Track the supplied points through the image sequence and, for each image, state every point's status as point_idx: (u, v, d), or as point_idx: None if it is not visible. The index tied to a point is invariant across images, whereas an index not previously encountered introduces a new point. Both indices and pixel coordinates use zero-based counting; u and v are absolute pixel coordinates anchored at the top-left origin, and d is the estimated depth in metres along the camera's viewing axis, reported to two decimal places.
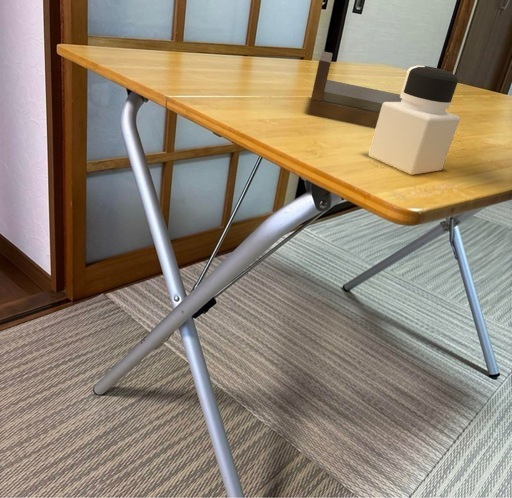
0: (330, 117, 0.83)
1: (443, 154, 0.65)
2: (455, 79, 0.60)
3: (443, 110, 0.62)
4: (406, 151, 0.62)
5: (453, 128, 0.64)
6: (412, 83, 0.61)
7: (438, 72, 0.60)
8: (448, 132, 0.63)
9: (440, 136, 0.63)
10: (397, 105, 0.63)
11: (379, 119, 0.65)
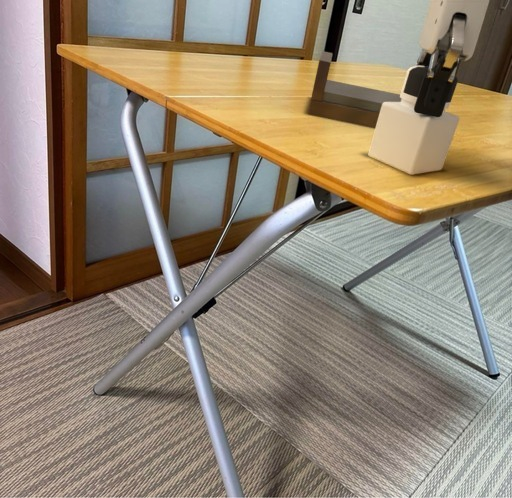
0: (330, 117, 0.83)
1: (443, 154, 0.65)
2: (455, 79, 0.60)
3: (443, 110, 0.62)
4: (406, 151, 0.62)
5: (453, 128, 0.64)
6: (412, 83, 0.61)
7: None
8: (448, 132, 0.63)
9: (439, 136, 0.63)
10: (396, 104, 0.63)
11: (379, 119, 0.65)
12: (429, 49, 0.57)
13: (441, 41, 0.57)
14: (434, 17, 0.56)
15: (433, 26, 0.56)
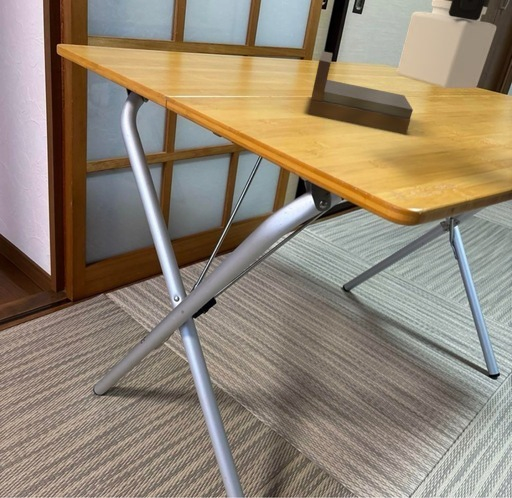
0: (330, 117, 0.83)
1: (478, 68, 0.60)
2: None
3: None
4: (440, 62, 0.58)
5: (489, 38, 0.59)
6: None
7: None
8: (484, 42, 0.59)
9: (476, 46, 0.58)
10: (428, 13, 0.58)
11: (409, 31, 0.60)
12: None
13: None
14: None
15: None
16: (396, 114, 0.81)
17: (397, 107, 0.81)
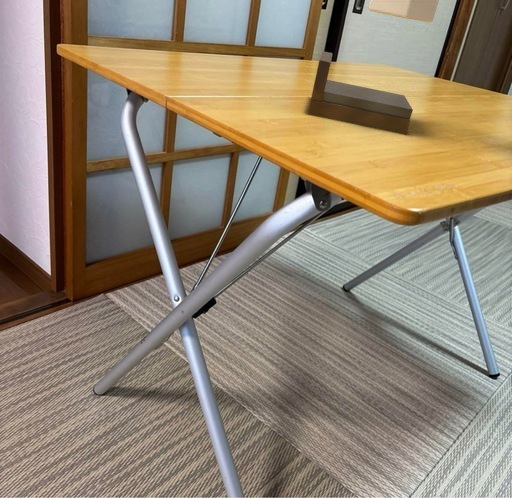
0: (330, 117, 0.83)
1: (433, 5, 0.75)
2: None
3: None
4: None
5: None
6: None
7: None
8: None
9: None
10: None
11: None
12: None
13: None
14: None
15: None
16: (396, 114, 0.81)
17: (397, 107, 0.81)
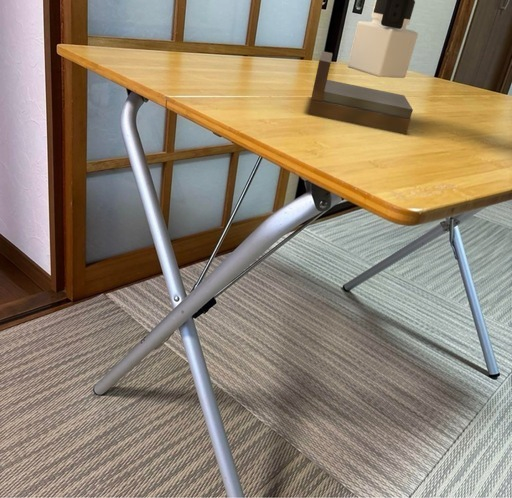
0: (330, 117, 0.83)
1: (405, 63, 0.83)
2: (412, 0, 0.78)
3: (404, 26, 0.80)
4: (376, 57, 0.80)
5: (412, 41, 0.82)
6: (380, 4, 0.79)
7: None
8: (408, 44, 0.81)
9: (401, 46, 0.81)
10: (368, 22, 0.81)
11: (355, 35, 0.83)
12: None
13: None
14: None
15: None
16: (396, 114, 0.81)
17: (397, 107, 0.81)
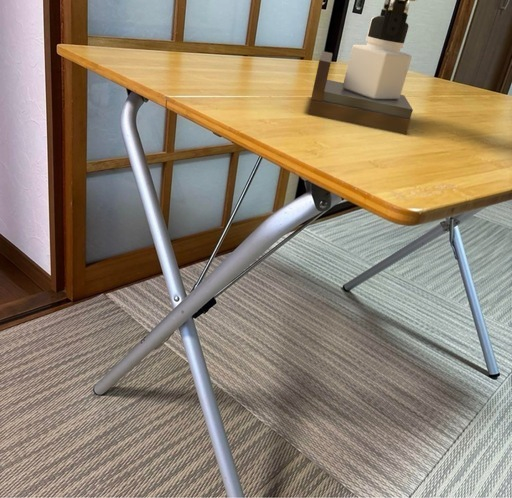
0: (330, 117, 0.83)
1: (399, 85, 0.85)
2: (405, 24, 0.80)
3: (398, 49, 0.82)
4: (370, 80, 0.82)
5: (406, 64, 0.83)
6: (374, 28, 0.80)
7: None
8: (402, 67, 0.83)
9: (395, 69, 0.82)
10: (363, 46, 0.83)
11: (350, 58, 0.84)
12: None
13: None
14: None
15: None
16: (396, 114, 0.81)
17: (397, 107, 0.81)
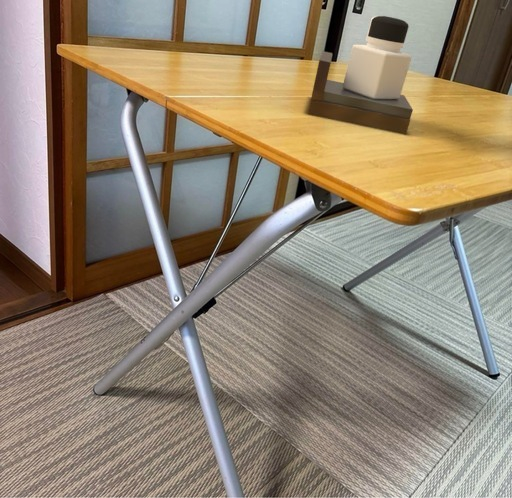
0: (330, 117, 0.83)
1: (399, 85, 0.85)
2: (405, 24, 0.80)
3: (398, 49, 0.82)
4: (370, 80, 0.82)
5: (406, 64, 0.83)
6: (374, 28, 0.80)
7: (392, 19, 0.79)
8: (402, 67, 0.83)
9: (395, 69, 0.82)
10: (363, 46, 0.83)
11: (350, 58, 0.84)
12: None
13: None
14: None
15: None
16: (396, 114, 0.81)
17: (397, 107, 0.81)
